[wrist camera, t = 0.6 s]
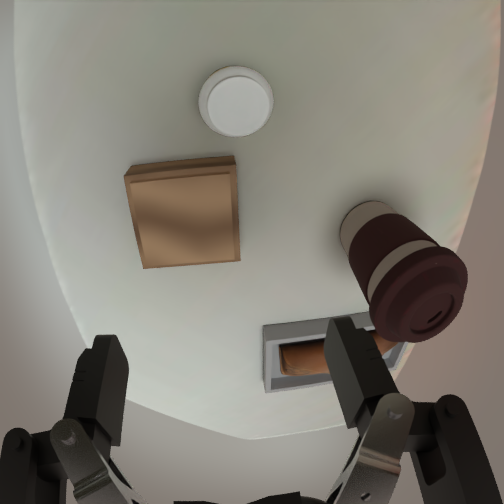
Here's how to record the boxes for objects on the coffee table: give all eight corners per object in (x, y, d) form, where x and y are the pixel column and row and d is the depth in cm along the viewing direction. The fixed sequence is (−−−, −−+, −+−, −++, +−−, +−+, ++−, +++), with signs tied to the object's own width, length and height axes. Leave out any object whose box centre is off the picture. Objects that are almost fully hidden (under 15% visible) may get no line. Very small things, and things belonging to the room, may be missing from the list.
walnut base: (131, 166, 29) (122, 178, 26) (233, 155, 30) (236, 166, 27) (147, 252, 35) (142, 271, 32) (238, 245, 35) (241, 263, 33)
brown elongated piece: (280, 378, 48) (287, 397, 41) (275, 336, 48) (281, 351, 41) (386, 354, 49) (404, 368, 42) (384, 314, 49) (404, 324, 42)
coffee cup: (324, 197, 34) (388, 286, 21) (404, 182, 33) (488, 254, 21) (330, 271, 39) (376, 368, 26) (401, 253, 39) (462, 335, 26)
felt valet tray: (263, 325, 43) (266, 341, 40) (410, 304, 45) (419, 316, 42) (262, 379, 49) (265, 393, 47) (390, 357, 51) (396, 369, 49)
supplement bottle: (262, 67, 26) (285, 68, 18) (259, 122, 29) (279, 148, 21) (202, 66, 25) (197, 65, 17) (200, 122, 28) (196, 147, 20)
